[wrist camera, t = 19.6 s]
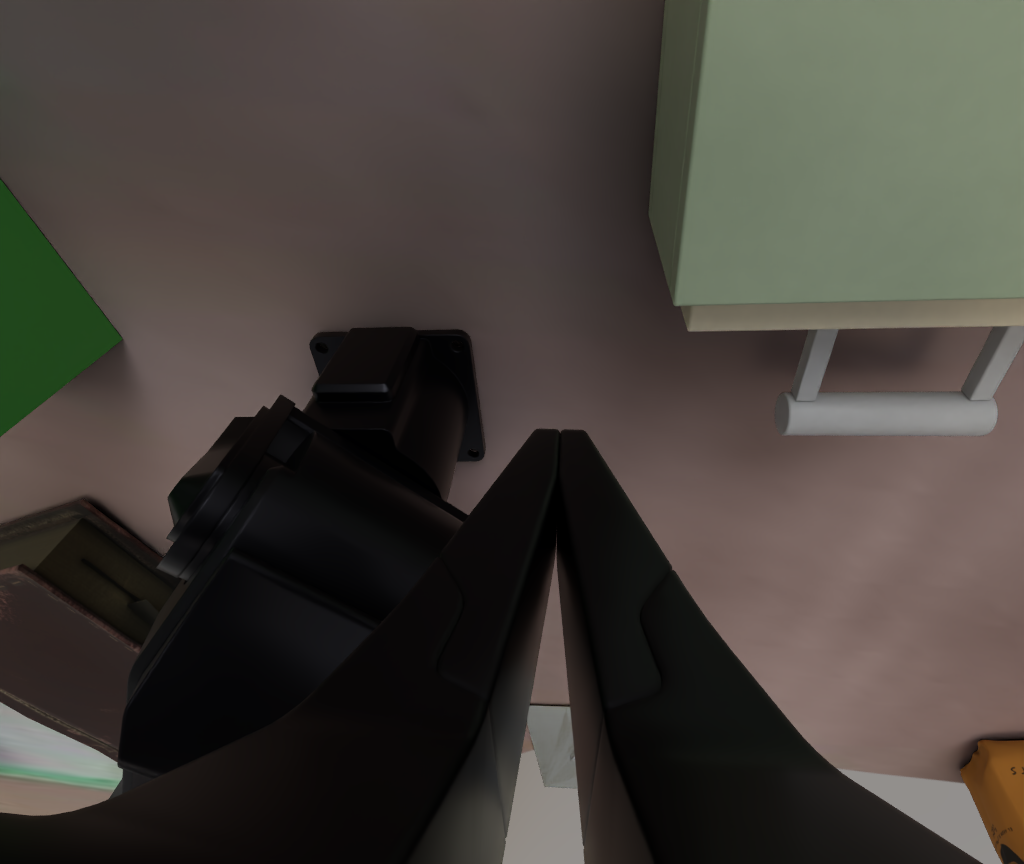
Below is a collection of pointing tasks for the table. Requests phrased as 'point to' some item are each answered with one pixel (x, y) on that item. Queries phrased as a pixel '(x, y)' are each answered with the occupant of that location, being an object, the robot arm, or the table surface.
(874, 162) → the cabinet
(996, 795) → the coffee package
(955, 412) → the drawer
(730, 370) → the table surface
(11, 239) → the hardback book
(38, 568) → the diary
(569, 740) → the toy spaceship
